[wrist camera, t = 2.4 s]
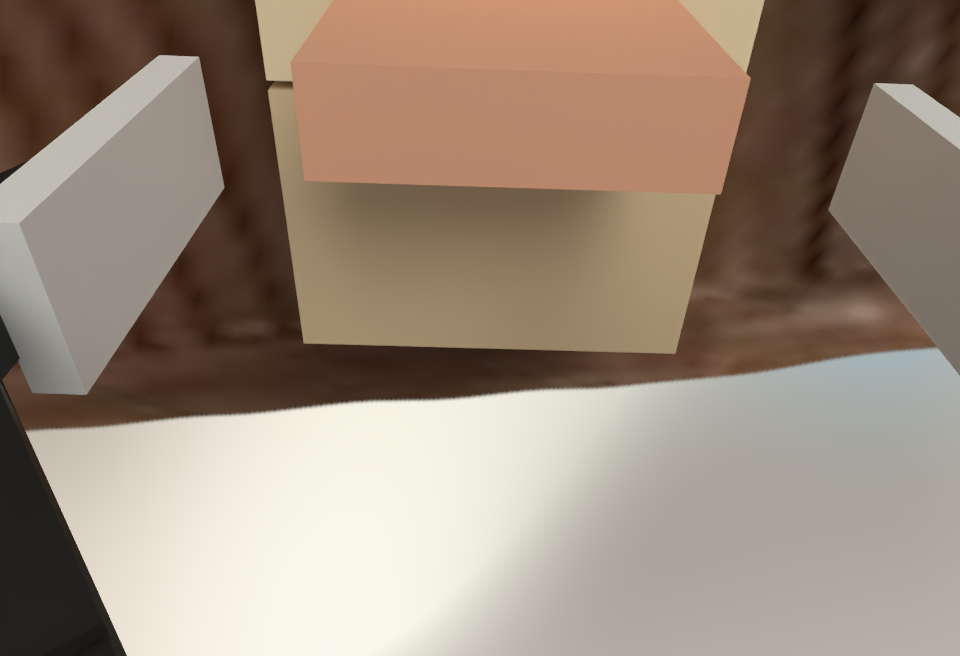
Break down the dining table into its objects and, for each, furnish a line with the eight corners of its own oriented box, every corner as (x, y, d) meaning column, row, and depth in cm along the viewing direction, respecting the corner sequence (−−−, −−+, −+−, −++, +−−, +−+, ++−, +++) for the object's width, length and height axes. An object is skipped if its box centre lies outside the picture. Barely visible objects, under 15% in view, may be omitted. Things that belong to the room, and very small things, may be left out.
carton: (347, 212, 36) (304, 348, 27) (301, -329, 24) (198, -395, 15) (629, 221, 36) (677, 358, 27) (724, -309, 24) (862, -364, 15)
